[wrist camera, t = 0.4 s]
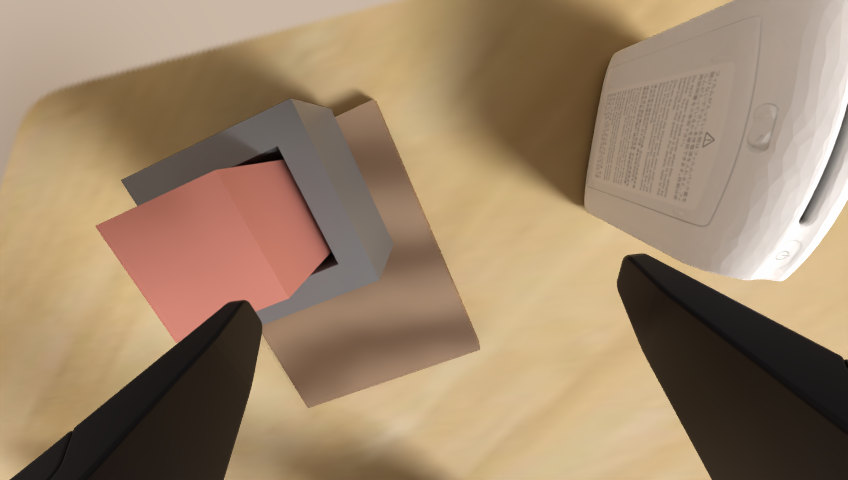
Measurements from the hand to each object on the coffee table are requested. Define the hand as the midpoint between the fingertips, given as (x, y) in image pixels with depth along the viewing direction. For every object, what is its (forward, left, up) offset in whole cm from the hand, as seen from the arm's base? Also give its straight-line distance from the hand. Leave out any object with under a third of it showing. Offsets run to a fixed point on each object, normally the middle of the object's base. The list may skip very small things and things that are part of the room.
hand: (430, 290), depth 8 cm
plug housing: (-6, +6, -14) cm, 16 cm away
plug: (-6, +6, -10) cm, 13 cm away
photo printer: (+10, -7, -16) cm, 20 cm away
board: (-8, +2, -15) cm, 17 cm away
